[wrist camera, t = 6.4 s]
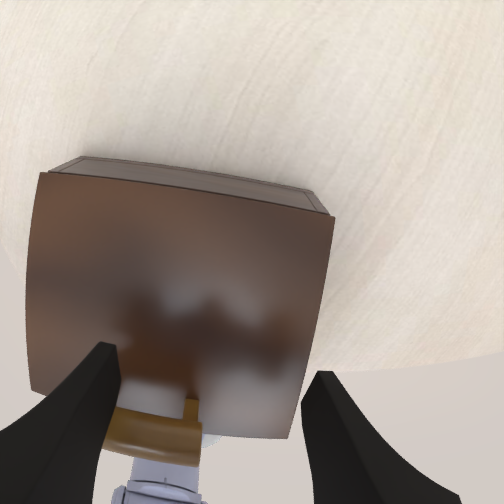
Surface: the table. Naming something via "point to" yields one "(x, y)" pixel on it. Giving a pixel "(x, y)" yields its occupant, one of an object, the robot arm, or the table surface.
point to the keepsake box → (193, 181)
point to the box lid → (175, 307)
